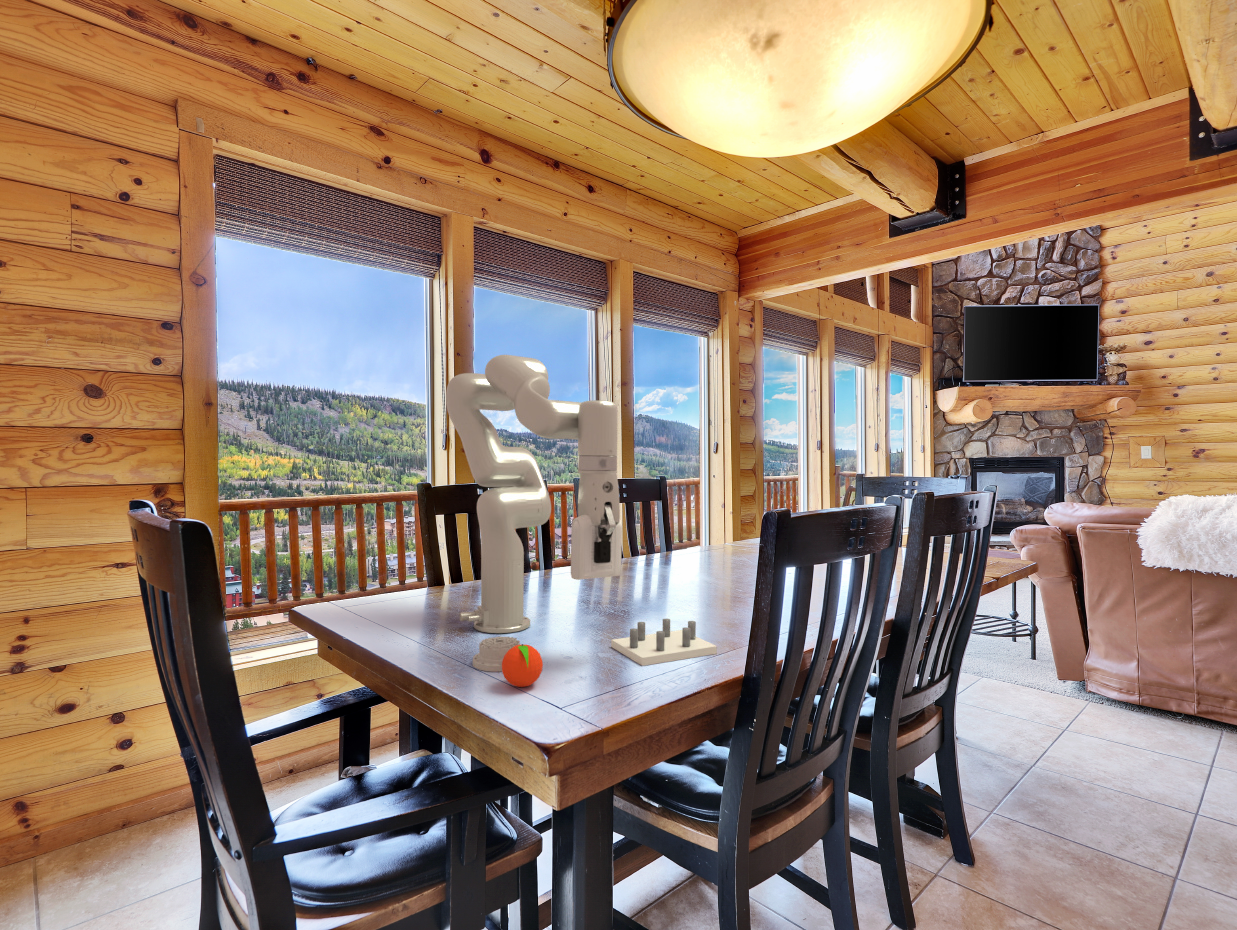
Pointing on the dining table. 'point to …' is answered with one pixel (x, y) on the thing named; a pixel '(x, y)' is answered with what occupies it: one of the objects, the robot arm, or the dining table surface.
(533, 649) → the clementine
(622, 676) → the dining table surface
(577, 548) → the photo printer
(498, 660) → the mechanical component
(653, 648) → the pin tray
